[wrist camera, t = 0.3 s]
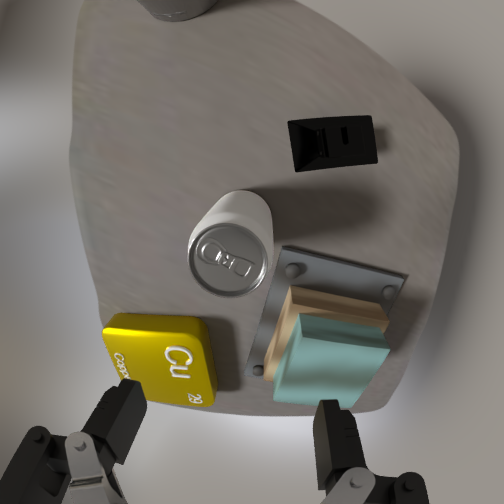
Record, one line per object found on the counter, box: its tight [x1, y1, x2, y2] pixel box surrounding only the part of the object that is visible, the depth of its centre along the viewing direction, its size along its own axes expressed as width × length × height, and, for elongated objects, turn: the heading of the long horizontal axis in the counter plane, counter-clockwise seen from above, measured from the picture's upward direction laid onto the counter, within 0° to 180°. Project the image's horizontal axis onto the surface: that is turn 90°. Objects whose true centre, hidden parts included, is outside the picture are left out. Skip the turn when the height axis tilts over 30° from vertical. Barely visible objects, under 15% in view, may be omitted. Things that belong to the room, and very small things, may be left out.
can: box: [188, 190, 274, 298], centre depth 25 cm, size 6×6×12 cm
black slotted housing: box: [287, 115, 378, 172], centre depth 25 cm, size 12×7×5 cm, turn 100°
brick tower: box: [244, 246, 404, 408], centre depth 31 cm, size 20×16×9 cm
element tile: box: [102, 313, 218, 407], centre depth 37 cm, size 15×15×5 cm
